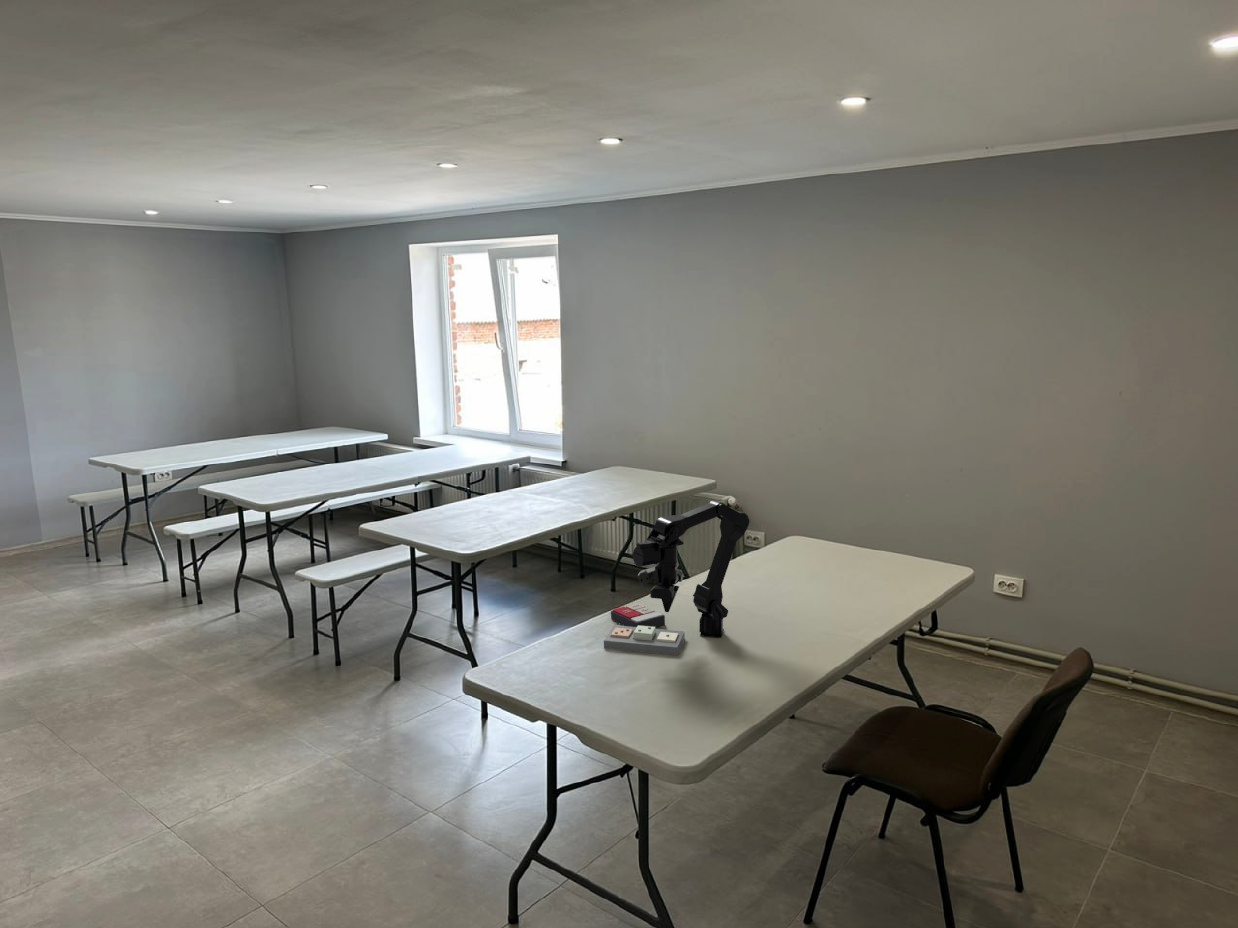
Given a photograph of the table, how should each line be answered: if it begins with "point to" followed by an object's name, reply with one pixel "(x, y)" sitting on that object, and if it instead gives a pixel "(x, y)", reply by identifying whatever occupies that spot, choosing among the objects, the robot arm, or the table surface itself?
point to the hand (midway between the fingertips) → (667, 611)
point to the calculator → (638, 616)
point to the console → (644, 642)
